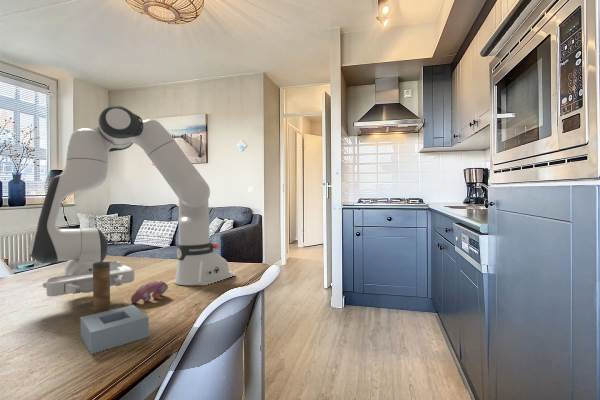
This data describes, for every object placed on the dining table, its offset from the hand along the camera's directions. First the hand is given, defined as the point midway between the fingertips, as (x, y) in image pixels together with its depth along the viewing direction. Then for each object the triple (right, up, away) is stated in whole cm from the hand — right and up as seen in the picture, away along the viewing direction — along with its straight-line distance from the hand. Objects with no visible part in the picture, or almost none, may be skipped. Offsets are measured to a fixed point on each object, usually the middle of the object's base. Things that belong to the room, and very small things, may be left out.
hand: (98, 286), depth 79 cm
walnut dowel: (+2, -9, -2) cm, 9 cm away
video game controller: (+6, -9, +15) cm, 18 cm away
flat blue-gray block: (+10, -9, -10) cm, 17 cm away
